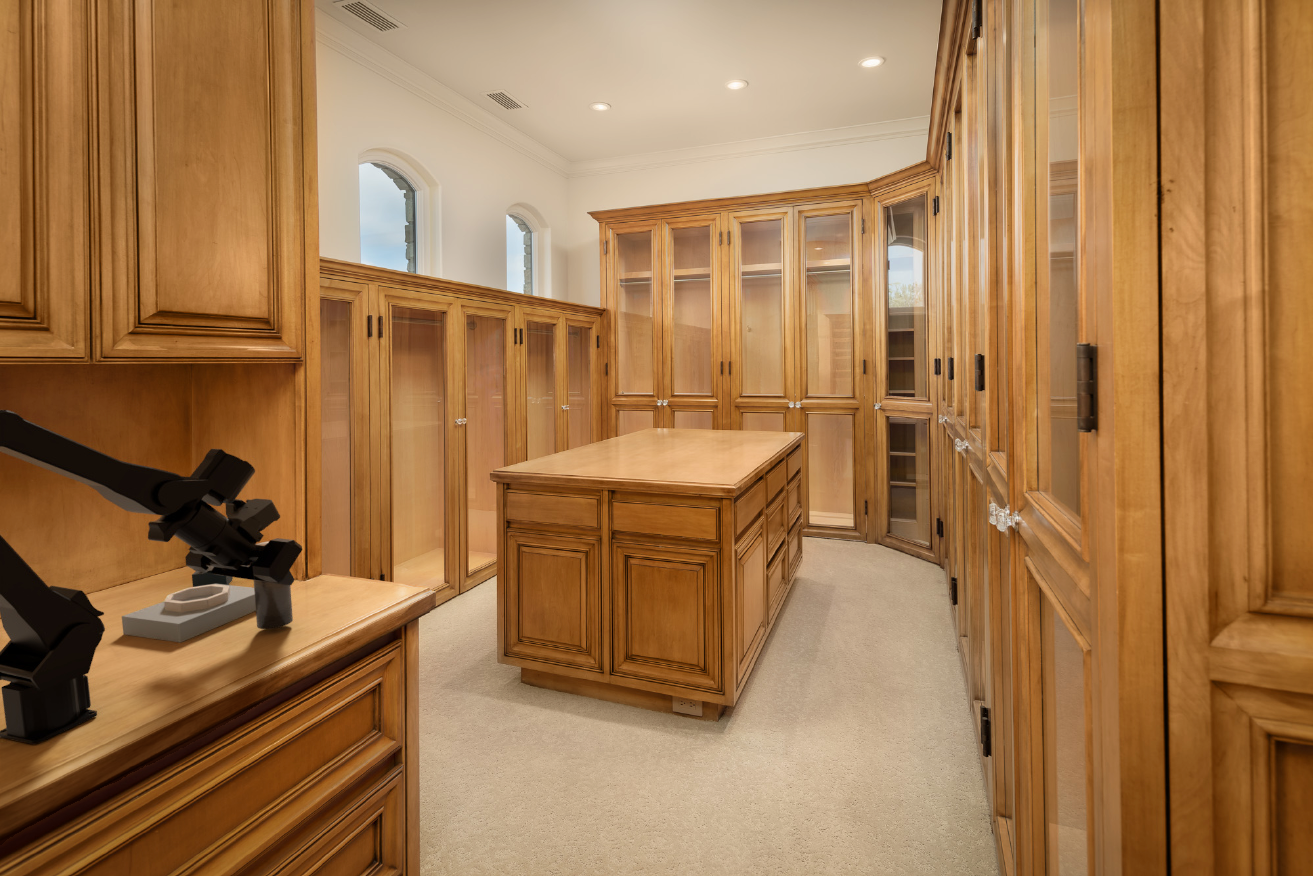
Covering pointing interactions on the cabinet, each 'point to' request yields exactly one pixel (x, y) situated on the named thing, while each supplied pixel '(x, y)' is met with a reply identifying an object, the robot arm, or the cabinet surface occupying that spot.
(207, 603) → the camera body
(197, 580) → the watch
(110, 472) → the robot arm
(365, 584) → the cabinet surface
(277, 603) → the lens
